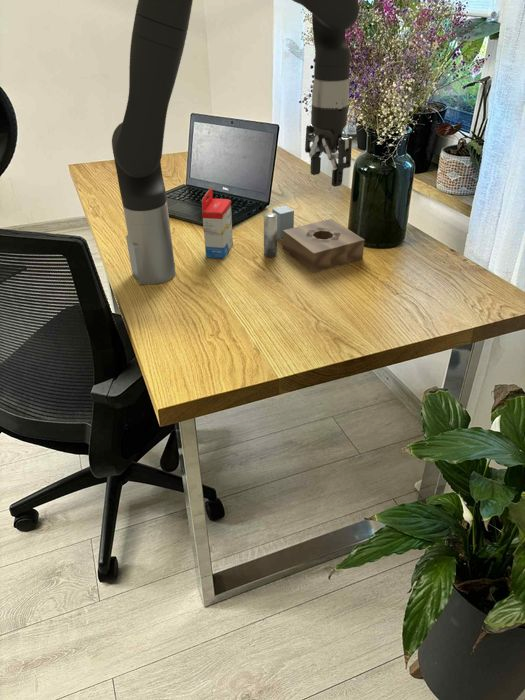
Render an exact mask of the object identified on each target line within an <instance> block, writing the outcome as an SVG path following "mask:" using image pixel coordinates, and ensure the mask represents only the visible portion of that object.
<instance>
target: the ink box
mask: <svg viewBox="0 0 525 700" xmlns="http://www.w3.org/2000/svg"><path fill="white" fill-rule="evenodd" d="M213 192H214V191H213V187H212V186H210V188H209V189H208V190H207V192H206V193H205V194H204V195H203V197H202V199H201V216H202V225H203V236H204V237H203V238H204V247H205V257H206V258H213V259H226V257H227V255H228V253H229V252H230V250H231V248H232V247H233V245H234V243H233V242H234V241H233V240H234V239H233V221H232V220H233V219H232V218H233V217H232V202H231V199H227V198H214V197H213V196H214V195H213Z"/></svg>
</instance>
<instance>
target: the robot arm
mask: <svg viewBox="0 0 525 700" xmlns="http://www.w3.org/2000/svg"><path fill="white" fill-rule="evenodd" d="M292 1H293V2H294V3H296V4H299V5H301V6H302V7H304V8H305V9H307V11H309V12H310V13H311V23H312V33H313V44H314V51H315V52H314V55H315V56H314V67H313V68H314V70H313V71H314V72H313V82H312V90H311V91H312V92H311V112H310V114H311V115H310V124H307V126H306V128H305V129H306V131H305V144H304V151H305V153H306V154H307V153H308V157H309V158H310V174H311V175H312V176H316V175H319V174H320V173H321V167H322V166H321V162H322V161H321V160H322V157H321V156H322V154H323V153H324V154H325V155H326V156H327V159H328V160H329V161H330V163H331V166H332V171H331V186H333V187H340V186H341V185H342V183H343V175H344V169H348V168H350V167H351V166H352V165H351V163H352V145H353V141H352V138H351V137H347V138H345V137H343V136H344V135H343V129H345V127H346V126H347V123H348V112H349V97H350V67H351V51H350V48H349V45H348V44H347V41H345V33H347V31H346V30H349V29H350V28H351V27H352V26H354V24H355V23H356V21H357V20H358V17H359V12H360V4H359V1H358V0H292ZM192 7H193V0H137V4H136V9H135V15H134V21H133V26H132V32H131V40H130V50H129V67H128V69H129V76H128V77H129V79H128V83H129V84H128V85H129V86H128V87H129V88H128V95H127V96H128V97H127V101H126V102H127V103H126V107H125V108H126V109H125V113H124V116H123V119H122V122H120V123H119V124H118V125H117V126H116V128H115V129H114V131H113V132H112V137H111V148H112V154H113V158H114V165H115V170H116V175H117V183H118V186H119V188H118V189H119V193H120V194H119V195H120V199H121V205H122V208H123V214H124V221H125V225H126V231H127V235H126V236H125V238H126V239H125V240H126V244H127V251H128V257H129V261H130V268H131V272H132V273H131V274H132V275H133V276H134V278H135V279H136V281H137V283H138V284H139V285H146V284H147V285H158V284H164V283H166V282H168V281H170V280H173V278H174V277H175V276H176V263H175V257H174V256H175V255H174V251H173V249H174V248H173V242H172V239H173V238H172V233H171V225H170V217H169V216H170V215H169V210H168V207H169V206H168V199H167V193H166V192H167V191H166V186H165V181H164V177H163V172H162V162H161V161H162V157H163V149H164V148H163V146H164V136H165V128H166V119H167V115H168V108H169V105H170V101H171V97H172V94H173V91H174V87H175V83H176V79H177V77H178V74H179V73H178V71H179V68H180V64H181V62H182V61H181V60H182V58H183V57H182V56H183V53H184V50H185V49H184V48H185V45H186V40H187V35H188V30H189V25H190V18H191V15H192V14H191V12H192ZM311 143H312V144H311Z"/></svg>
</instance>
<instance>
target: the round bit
mask: <svg viewBox="0 0 525 700" xmlns="http://www.w3.org/2000/svg"><path fill="white" fill-rule="evenodd" d="M263 255H264V257H266V258H275V257H277V256H278V238H277V214H275V213H272V212H266V213H264V214H263Z"/></svg>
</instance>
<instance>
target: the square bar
mask: <svg viewBox="0 0 525 700" xmlns="http://www.w3.org/2000/svg"><path fill="white" fill-rule="evenodd" d="M271 211H272V212H271V213H275V214H277V240H279V241H280V240H281V241H282V240H283V230H286V229H290V228H295V223H294V222H295V221H294V220H295V219H294V218H295V210H293V208H291V207H289V206H287V205H284V206H283V205H282V206H278V207H274V208H272V210H271Z"/></svg>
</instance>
